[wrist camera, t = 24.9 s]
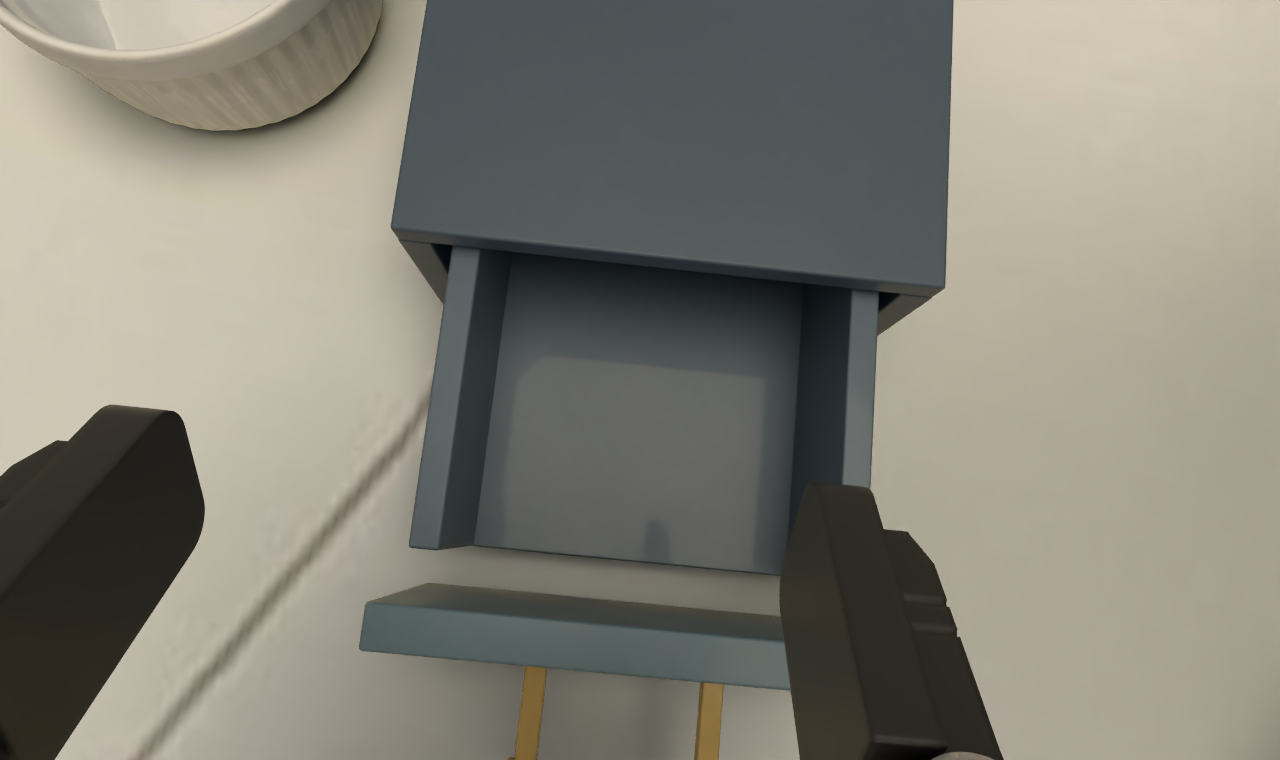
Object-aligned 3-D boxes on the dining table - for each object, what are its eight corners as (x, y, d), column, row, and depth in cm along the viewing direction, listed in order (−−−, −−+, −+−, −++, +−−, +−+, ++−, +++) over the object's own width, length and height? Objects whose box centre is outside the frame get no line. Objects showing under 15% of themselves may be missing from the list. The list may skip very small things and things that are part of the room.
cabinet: (844, 359, 31) (946, 288, 22) (452, 318, 30) (389, 228, 21) (862, 9, 34) (959, -185, 24) (502, -33, 33) (465, -247, 24)
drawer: (811, 790, 27) (889, 886, 20) (402, 754, 27) (328, 837, 20) (839, 277, 30) (914, 198, 23) (475, 237, 30) (435, 144, 23)
